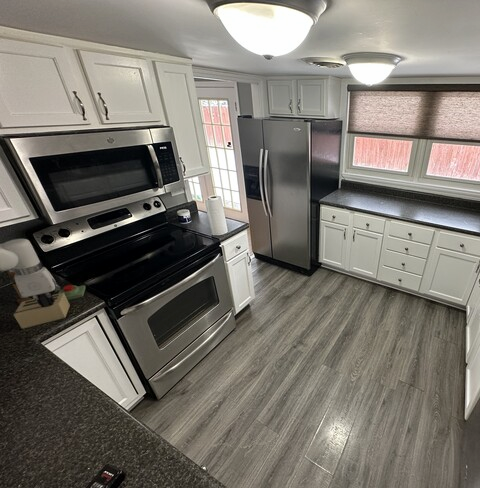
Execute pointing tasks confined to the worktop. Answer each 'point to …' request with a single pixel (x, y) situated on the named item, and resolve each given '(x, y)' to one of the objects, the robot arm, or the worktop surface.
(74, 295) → the panel
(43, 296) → the slider
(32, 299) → the wooden pepper mill
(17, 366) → the worktop surface
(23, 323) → the toaster
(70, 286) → the button
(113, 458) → the worktop surface
